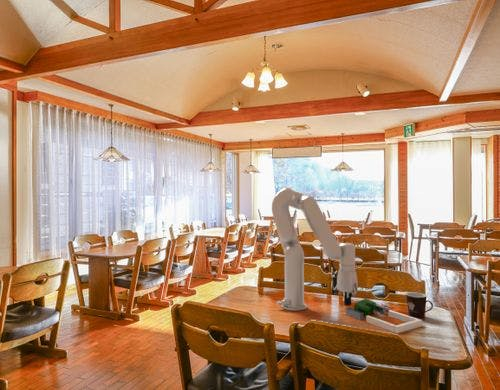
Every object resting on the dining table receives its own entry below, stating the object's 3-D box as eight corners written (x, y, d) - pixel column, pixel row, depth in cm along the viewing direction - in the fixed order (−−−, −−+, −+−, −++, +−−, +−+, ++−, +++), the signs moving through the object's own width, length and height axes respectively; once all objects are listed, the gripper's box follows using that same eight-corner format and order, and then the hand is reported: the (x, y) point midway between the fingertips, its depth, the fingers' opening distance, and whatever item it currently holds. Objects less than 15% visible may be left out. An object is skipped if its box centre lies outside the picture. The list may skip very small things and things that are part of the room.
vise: (360, 320, 162) (360, 313, 163) (345, 314, 170) (345, 308, 170) (393, 311, 174) (393, 305, 174) (378, 306, 182) (378, 300, 182)
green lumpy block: (364, 326, 167) (364, 311, 163) (352, 320, 171) (352, 305, 167) (377, 311, 174) (377, 296, 170) (365, 305, 178) (366, 291, 175)
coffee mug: (402, 314, 170) (402, 292, 170) (420, 313, 171) (420, 292, 171) (416, 322, 159) (415, 299, 159) (434, 321, 159) (434, 298, 159)
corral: (397, 333, 146) (397, 327, 146) (366, 321, 160) (366, 316, 160) (422, 326, 154) (422, 320, 154) (390, 315, 168) (390, 310, 168)
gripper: (331, 266, 185) (331, 302, 185) (353, 271, 172) (353, 310, 172) (342, 264, 189) (342, 300, 189) (364, 269, 176) (364, 307, 176)
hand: (347, 304), depth 181 cm, fingers closed
